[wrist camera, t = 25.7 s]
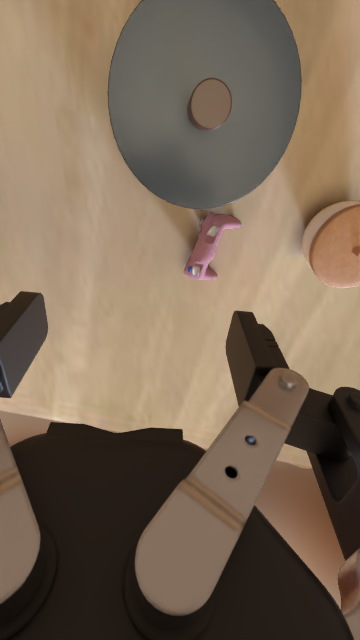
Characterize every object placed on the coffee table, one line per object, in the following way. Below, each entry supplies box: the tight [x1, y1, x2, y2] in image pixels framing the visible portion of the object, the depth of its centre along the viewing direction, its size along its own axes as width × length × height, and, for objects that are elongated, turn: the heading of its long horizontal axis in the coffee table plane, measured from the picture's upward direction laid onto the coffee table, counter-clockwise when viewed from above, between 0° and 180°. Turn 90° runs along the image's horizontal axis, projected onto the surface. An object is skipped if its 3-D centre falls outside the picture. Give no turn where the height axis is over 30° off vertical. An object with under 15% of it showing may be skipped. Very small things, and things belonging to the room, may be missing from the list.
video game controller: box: [184, 212, 241, 280], centre depth 42 cm, size 10×5×7 cm, turn 160°
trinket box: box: [302, 201, 360, 288], centre depth 39 cm, size 11×11×9 cm
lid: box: [108, 0, 301, 209], centre depth 19 cm, size 14×14×6 cm
